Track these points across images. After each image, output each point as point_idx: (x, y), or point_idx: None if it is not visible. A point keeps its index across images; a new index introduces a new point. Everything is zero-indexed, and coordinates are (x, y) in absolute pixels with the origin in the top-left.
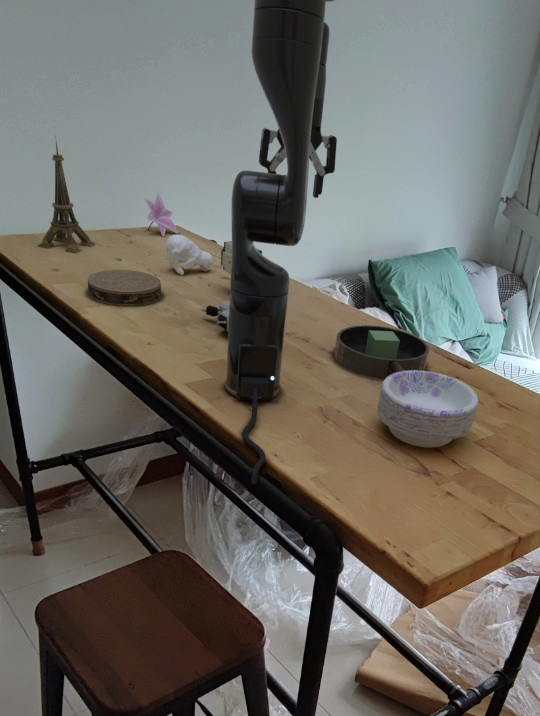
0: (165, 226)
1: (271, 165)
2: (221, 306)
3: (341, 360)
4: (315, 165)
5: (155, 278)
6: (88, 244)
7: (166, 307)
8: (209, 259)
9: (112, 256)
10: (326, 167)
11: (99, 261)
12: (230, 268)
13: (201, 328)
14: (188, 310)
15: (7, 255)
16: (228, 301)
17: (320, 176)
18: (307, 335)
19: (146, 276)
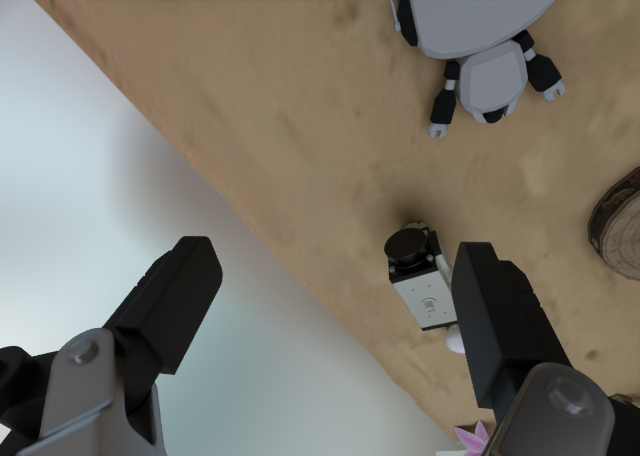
0: (475, 436)
1: (598, 422)
2: (525, 70)
3: None
4: (103, 407)
5: (609, 247)
6: (620, 396)
7: (612, 148)
8: (453, 337)
9: (597, 365)
10: (33, 397)
11: (634, 348)
12: (450, 262)
13: (582, 6)
14: (563, 137)
15: None
16: (499, 100)
17: (119, 334)
18: (305, 12)
19: (625, 256)
